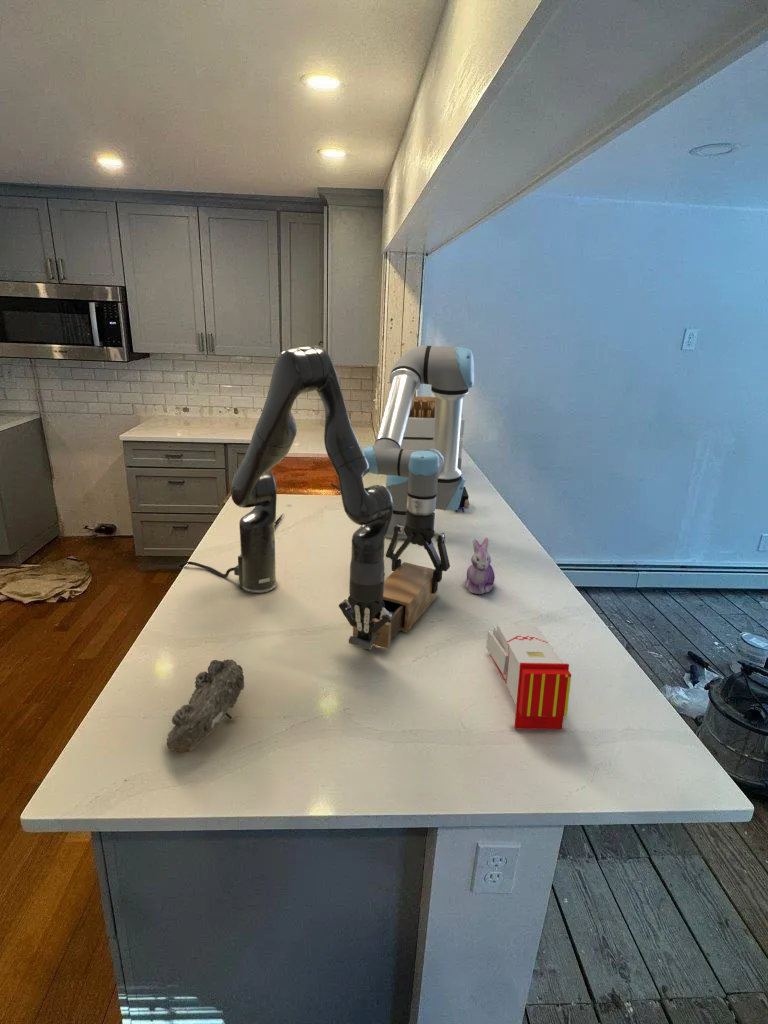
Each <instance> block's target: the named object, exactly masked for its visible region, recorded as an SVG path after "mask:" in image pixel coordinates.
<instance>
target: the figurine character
mask: <svg viewBox="0 0 768 1024" xmlns="http://www.w3.org/2000/svg"><path fill="white" fill-rule="evenodd" d="M469 498H470V496H469V494H468V491H467V488H466V486H464V488H463V492H462V497H461V501H460V505H459V508H458V509H457V510H455V512H456V513H458V510H461V511H462V513H465V509H469V506H470V500H469Z"/></svg>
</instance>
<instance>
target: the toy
mask: <svg viewBox="0 0 768 1024" xmlns="http://www.w3.org/2000/svg"><path fill="white" fill-rule="evenodd" d="M486 636H487V637H486V638H487V639H486V644H485V645H486V646H485V649H486V650H487V652H488V653H489V656H490V658H491V660H492V661H493V663H494V665H495V667H496V669H497V670H498V672H499V674H500V676H501V678H502V679H503V681H504V683H505V684H506V687H507V689H508V691H509V694H510V696H511V698H512V700H513V702H514V704H515V715H514V730H563V723H564V717H565V718H566V717H567V716H568V709H569V699H570V692H571V691H570V690H571V682H572V681H571V680H572V673H571V671H569V670H570V669H569V668H570V664H569V663H564V662H563V661H562V659H561V658H560V657H559V655H558V654H557V652H556V651H555V650H554V648H553V647H552V646H551V644H550V643H549V641H548V640H547V638H546V637H545V636H544V634H543V633H542V631H541V630H540V629H539V628H538V626H537V625H536V624H498V623H497V625H496V626H493V631H492V630H488V631H487V635H486Z"/></svg>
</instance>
